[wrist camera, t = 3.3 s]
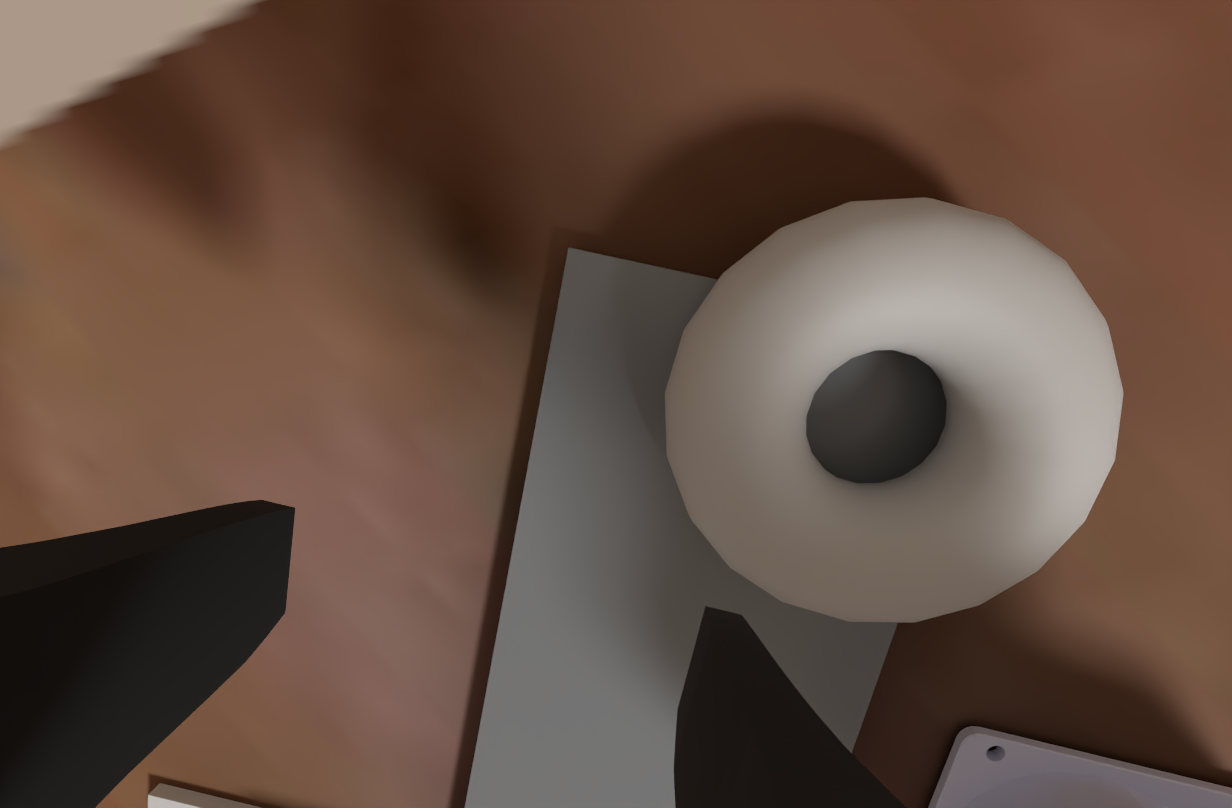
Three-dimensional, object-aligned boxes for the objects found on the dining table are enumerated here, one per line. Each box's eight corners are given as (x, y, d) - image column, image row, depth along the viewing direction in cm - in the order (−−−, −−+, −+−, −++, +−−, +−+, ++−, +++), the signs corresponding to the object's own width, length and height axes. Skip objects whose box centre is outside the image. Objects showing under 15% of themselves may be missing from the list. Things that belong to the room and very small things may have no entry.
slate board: (982, 336, 16) (997, 340, 16) (764, 964, 22) (767, 990, 21) (573, 248, 17) (568, 247, 16) (454, 882, 22) (446, 905, 21)
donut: (697, 160, 12) (1236, 217, 12) (690, 182, 16) (1109, 227, 15) (636, 621, 14) (1085, 685, 14) (641, 553, 18) (1004, 603, 17)
